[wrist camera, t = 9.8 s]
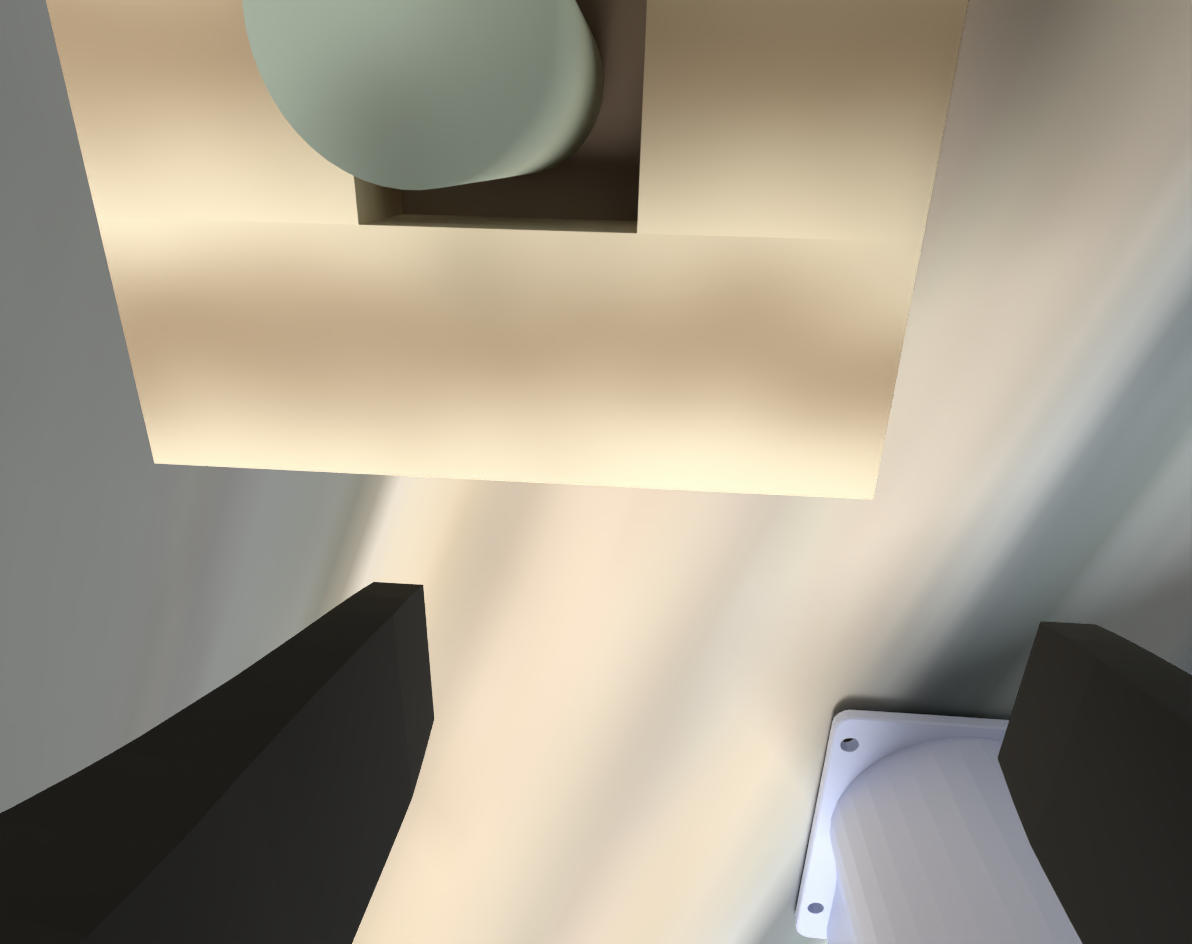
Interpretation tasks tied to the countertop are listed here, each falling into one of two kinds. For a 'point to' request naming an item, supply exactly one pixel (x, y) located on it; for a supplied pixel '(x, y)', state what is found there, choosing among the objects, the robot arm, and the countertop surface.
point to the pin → (431, 84)
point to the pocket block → (530, 255)
